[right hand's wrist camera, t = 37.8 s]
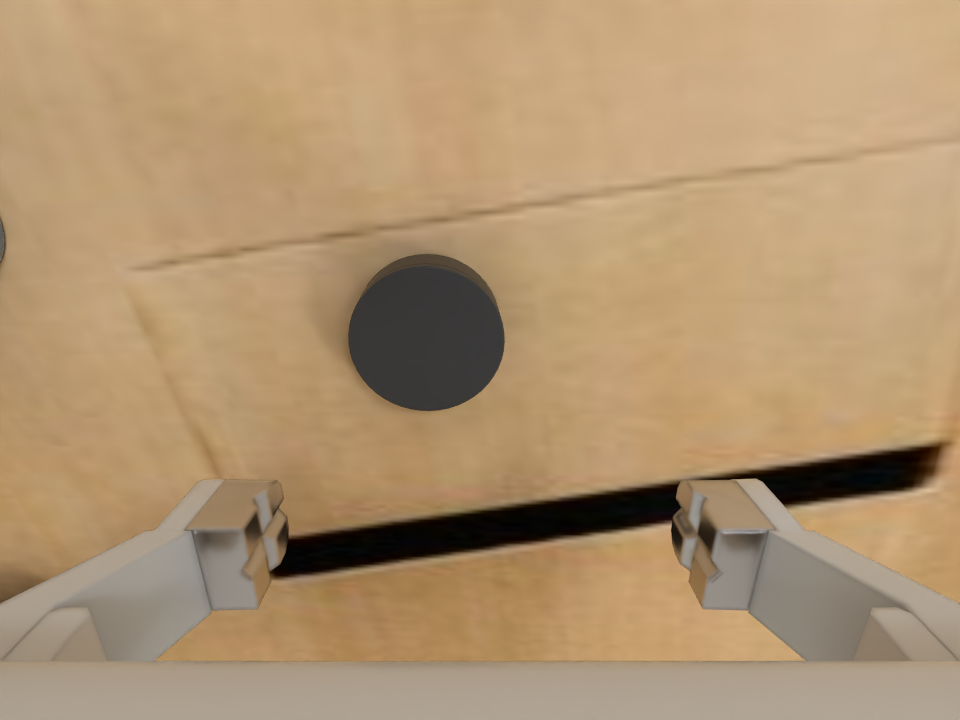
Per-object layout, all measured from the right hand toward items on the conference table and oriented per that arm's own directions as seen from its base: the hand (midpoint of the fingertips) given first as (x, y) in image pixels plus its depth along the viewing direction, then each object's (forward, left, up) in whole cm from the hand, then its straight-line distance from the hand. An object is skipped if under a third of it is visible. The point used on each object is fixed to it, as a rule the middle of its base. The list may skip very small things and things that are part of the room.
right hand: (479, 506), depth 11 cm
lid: (+1, +1, -9) cm, 9 cm away
